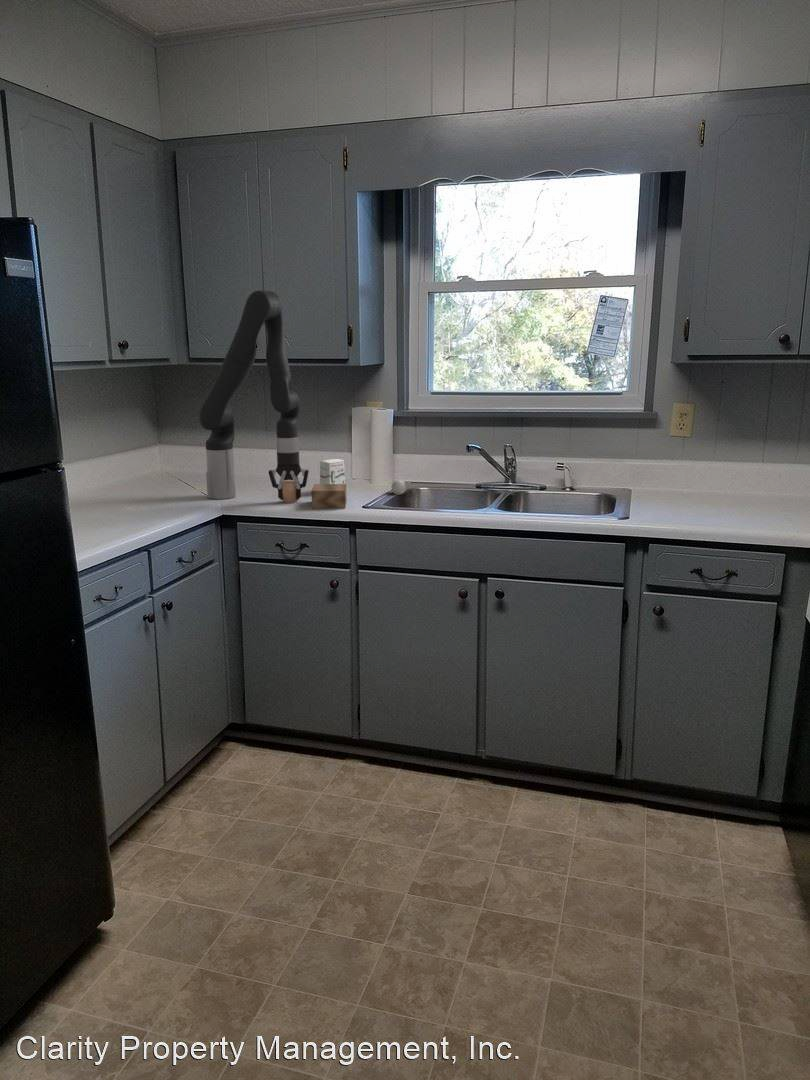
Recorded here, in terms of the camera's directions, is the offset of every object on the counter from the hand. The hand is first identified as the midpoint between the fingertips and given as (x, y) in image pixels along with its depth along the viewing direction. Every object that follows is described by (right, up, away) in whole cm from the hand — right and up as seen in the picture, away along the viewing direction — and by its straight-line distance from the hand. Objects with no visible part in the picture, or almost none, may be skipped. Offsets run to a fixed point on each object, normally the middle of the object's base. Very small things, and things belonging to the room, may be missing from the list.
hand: (289, 499), depth 275 cm
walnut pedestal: (+14, -2, -5) cm, 15 cm away
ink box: (+13, +3, +16) cm, 21 cm away
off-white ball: (+37, +5, +11) cm, 39 cm away
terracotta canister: (0, -1, 0) cm, 1 cm away
